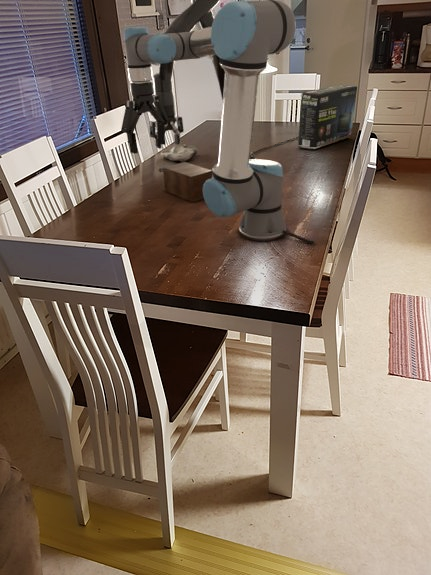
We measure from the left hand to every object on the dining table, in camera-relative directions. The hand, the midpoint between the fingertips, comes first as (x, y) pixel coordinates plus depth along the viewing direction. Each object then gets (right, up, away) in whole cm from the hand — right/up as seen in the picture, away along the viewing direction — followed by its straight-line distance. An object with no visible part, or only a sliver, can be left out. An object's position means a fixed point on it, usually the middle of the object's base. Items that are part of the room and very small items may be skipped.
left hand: (168, 146), depth 184 cm
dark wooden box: (+8, -19, +1) cm, 21 cm away
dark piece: (+5, -16, +4) cm, 17 cm away
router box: (+78, +20, +61) cm, 101 cm away
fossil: (0, +8, +46) cm, 47 cm away
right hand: (-4, -8, -25) cm, 26 cm away
